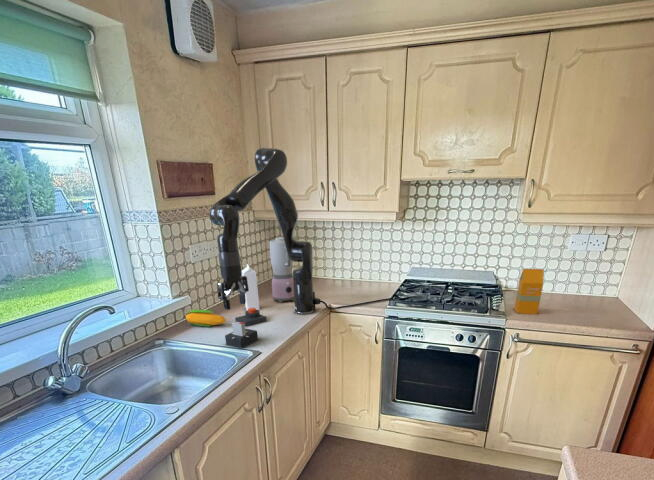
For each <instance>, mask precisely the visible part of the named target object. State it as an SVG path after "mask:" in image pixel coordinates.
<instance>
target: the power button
mask: <svg viewBox="0 0 654 480" xmlns="http://www.w3.org/2000/svg"><path fill="white" fill-rule="evenodd" d="M248 313H256V308H249V309H248Z"/></svg>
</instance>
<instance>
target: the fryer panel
mask: <svg viewBox="0 0 654 480" xmlns="http://www.w3.org/2000/svg"><path fill="white" fill-rule="evenodd" d="M245 333H246V335H245V336H238V335H234V332H233V331H232V332H229V333H227V334H225V335H224V339H225V345H226V346H230V347H234V348H238V349H243V348H246V347H247V346H249V345H251V344H253V343H255V342H256V341H258V340H259V336H258V330H256V329H249V328H245Z"/></svg>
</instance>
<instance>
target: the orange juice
mask: <svg viewBox="0 0 654 480" xmlns="http://www.w3.org/2000/svg"><path fill="white" fill-rule="evenodd" d="M543 287H544V269H543V268H523V269H522V272H521V274H520V277H519V280H518V286H517V291H516V297H515V303H514V308H513V309H514V310H515V312H516V314H525V315H538V312H539V306H540V302H541V297H542V291H543Z"/></svg>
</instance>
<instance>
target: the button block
mask: <svg viewBox="0 0 654 480" xmlns="http://www.w3.org/2000/svg"><path fill="white" fill-rule="evenodd" d="M260 313H261V311H260V310H256V313H248V311H247V310H245V312H244V314H245V315H240V316H236V317H235V318H234V320H235V321H236V322H244V324H245V328H247V327H249V326H253V325H254V326H255V325H258V324H262V323H265V322H267V316H265V315H263V314H260ZM235 321H234V322H235Z"/></svg>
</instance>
